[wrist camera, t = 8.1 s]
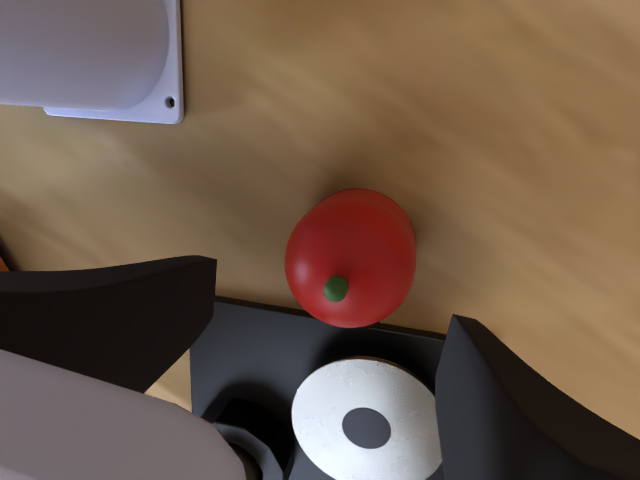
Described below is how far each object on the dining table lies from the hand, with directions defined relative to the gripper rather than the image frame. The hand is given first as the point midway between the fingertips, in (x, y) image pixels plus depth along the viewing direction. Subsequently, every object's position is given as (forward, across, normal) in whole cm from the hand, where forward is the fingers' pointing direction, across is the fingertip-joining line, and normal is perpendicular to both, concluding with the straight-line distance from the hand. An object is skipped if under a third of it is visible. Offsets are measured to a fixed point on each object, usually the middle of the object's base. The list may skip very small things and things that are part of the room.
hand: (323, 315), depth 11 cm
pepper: (+8, 0, 0) cm, 8 cm away
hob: (+8, 0, +10) cm, 13 cm away
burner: (+6, -2, +8) cm, 10 cm away
